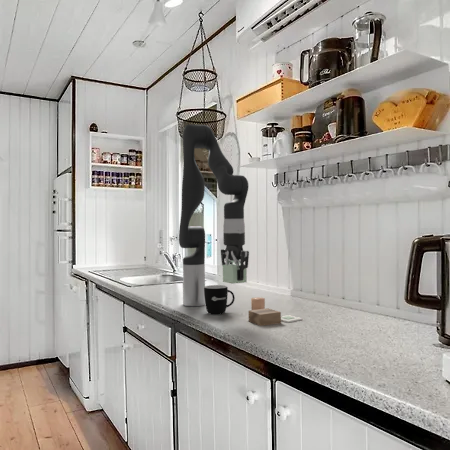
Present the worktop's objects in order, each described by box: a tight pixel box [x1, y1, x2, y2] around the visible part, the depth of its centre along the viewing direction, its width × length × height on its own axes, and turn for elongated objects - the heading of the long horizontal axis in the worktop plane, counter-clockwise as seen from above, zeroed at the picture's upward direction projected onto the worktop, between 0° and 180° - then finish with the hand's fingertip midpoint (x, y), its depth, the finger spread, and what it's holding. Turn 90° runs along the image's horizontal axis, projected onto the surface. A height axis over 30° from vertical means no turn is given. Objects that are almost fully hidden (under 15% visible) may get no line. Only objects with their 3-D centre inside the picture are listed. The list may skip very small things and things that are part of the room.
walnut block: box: [248, 307, 282, 327], centre depth 147 cm, size 8×8×4 cm
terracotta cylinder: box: [250, 297, 266, 310], centre depth 159 cm, size 5×5×6 cm
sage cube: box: [222, 263, 248, 285], centre depth 151 cm, size 6×6×6 cm
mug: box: [204, 284, 236, 316], centre depth 164 cm, size 12×9×10 cm
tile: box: [281, 314, 303, 323], centre depth 150 cm, size 7×7×1 cm
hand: (234, 279), depth 151 cm, fingers closed on sage cube, 6 cm apart
